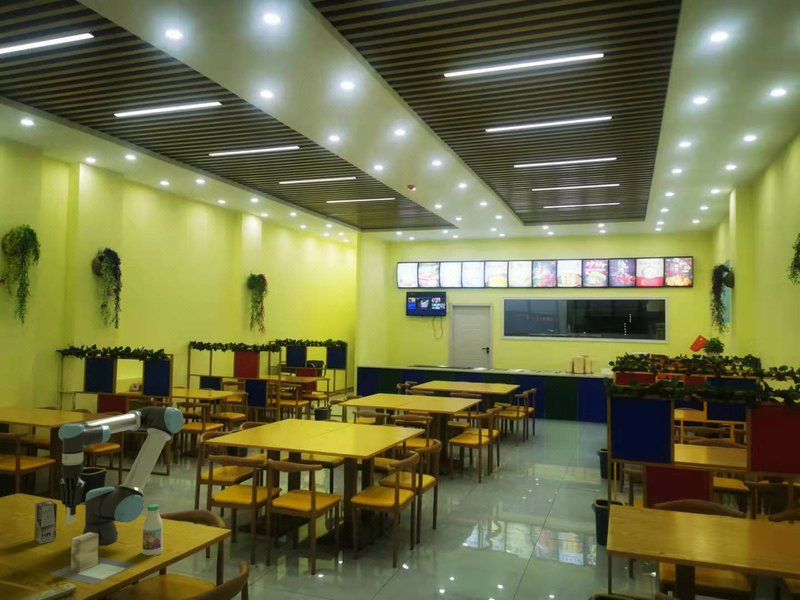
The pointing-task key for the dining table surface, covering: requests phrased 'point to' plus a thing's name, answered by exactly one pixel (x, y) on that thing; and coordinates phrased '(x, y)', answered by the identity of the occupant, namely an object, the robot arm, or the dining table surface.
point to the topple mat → (95, 571)
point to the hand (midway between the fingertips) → (70, 523)
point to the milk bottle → (153, 532)
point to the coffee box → (45, 521)
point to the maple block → (84, 552)
